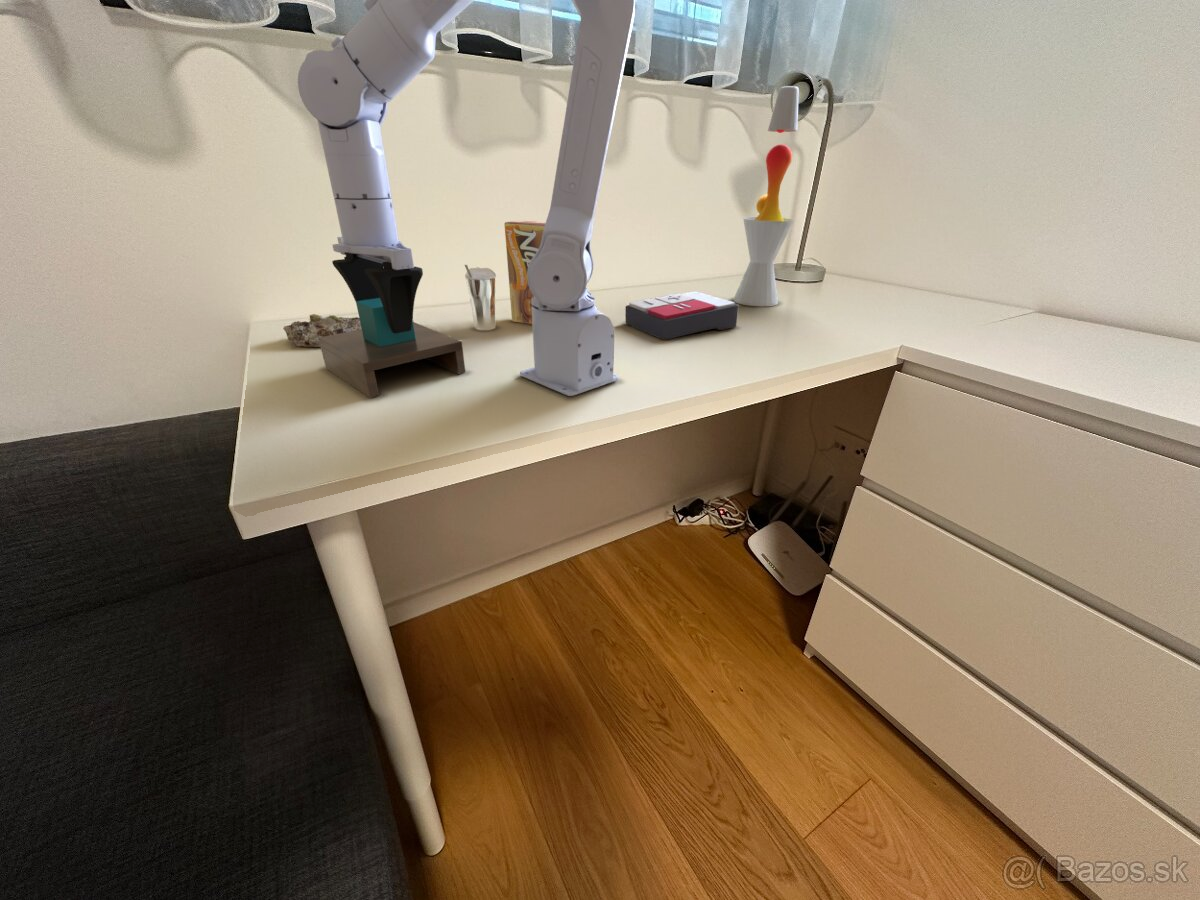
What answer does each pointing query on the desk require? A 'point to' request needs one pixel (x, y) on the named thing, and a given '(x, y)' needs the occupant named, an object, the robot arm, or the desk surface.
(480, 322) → the milkshake
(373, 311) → the cube
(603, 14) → the robot arm
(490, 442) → the desk surface
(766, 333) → the desk surface
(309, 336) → the mineral rock
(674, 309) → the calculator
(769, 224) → the lava lamp
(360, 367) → the shelf
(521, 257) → the candy box
